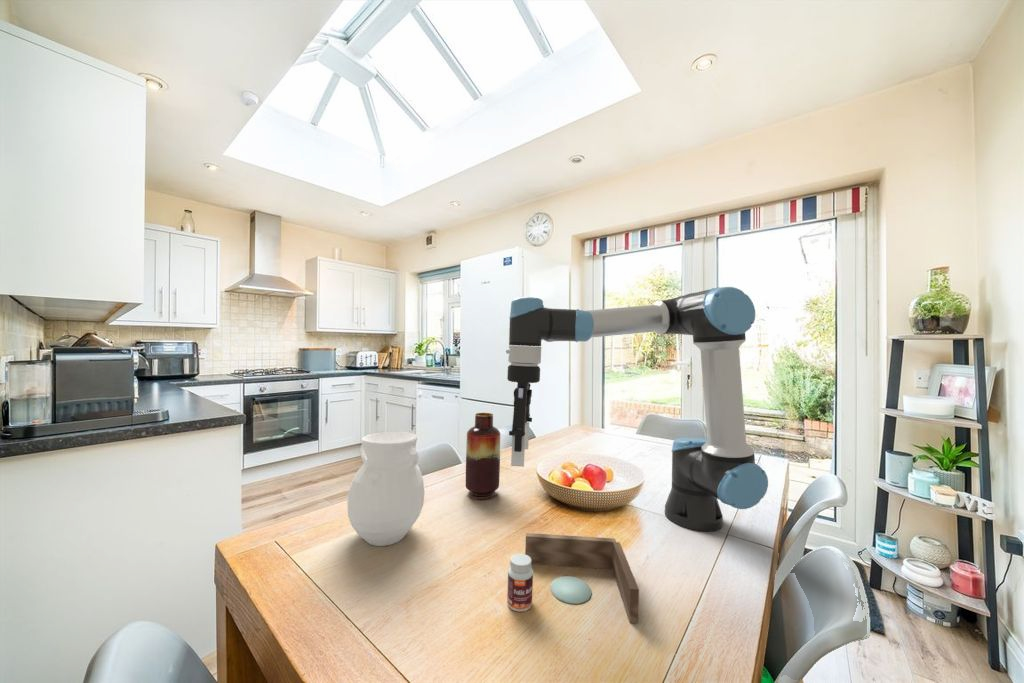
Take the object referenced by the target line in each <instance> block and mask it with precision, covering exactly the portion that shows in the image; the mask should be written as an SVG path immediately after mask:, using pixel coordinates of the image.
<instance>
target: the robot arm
mask: <svg viewBox="0 0 1024 683" xmlns="http://www.w3.org/2000/svg"><path fill="white" fill-rule="evenodd" d="M510 305H511V306H510V313H509V329H508V330H509V332H508V335H509V336H508V337H509V338H508V344H509V345H508V348H509V349H506V351H505V353H506V354H508V360H507V361H508V362H509V363H510V364H509V365H508V366H507V376H506V378H507V379H506V380H508V381H509V382H511V383H517V386H516V387H515V388H514V390H513V415H512V417H513V418H512V426H511V430H509V431H508V436H511V457H510V466H511V467H521V468H523V467H525V452H526V450H529V439H530V438H529V437H530V436H529V435H530V434H529V433H530V423H532V422H533V418H532V417H531V414H530V413H531V411H530V407H531V406H530V405H531V401H532V400H531V399H532V396H533V390H532V389H531V384H537V383H539V382H540V380H541V367H540V366H539V365H540V364H541V363H542V340H543V341H544V342H546V343H552V342H576V343H578V342H588V341H589V340H591V338H599V337H600V338H601V337H611V336H620V335H621V336H622V335H631V334H642V333H643V334H645V333H653V332H654V333H655V334H657V335H686V336H687V335H688V336H692V341H693V342H692V343H693V345H695V346H696V347H697V348H698V349H699V351H700V359H701V360H700V361H701V374H702V386H703V400H704V401H703V402H704V412H705V424H706V425H705V426H706V427H705V428H706V438H702V437H678V438H675V439H674V440H673V442H672V446H671V448H672V449H671V455H672V456H671V489H670V491H669V493H668V496H667V499H666V501H665V504H664V515H665V518H667V519H668V520H669V521H671V522H672V523H674V524H675V525H678V526H681V527H682V528H687V529H690V530H695V531H701V532H714V531H715V532H716V531H718V530H721V529H722V528H723V525H724V516H723V513H722V512H723V511H722V509H721V506H720V504H719V501H720V503H723V504H724V505H727V506H730V507H732V508H734V509H738V510H747V509H751V508H752V507H753V508H754V507H755V506H757V505H758V504H759V503H760V501H761V500H762V499H763V498H764V497H765V496H766V494H767V491H768V486H769V478H768V475H767V473H766V471H765V470H764V469H763V467H761V465H758V464H757V463H756V458H755V450H754V449H753V447H751V446H750V445H749V444H748V443H747V437H746V435H747V434H746V421H745V409H744V398H743V395H744V394H743V384H742V382H743V381H742V371H741V370H742V369H741V356H740V347H741V345H743V344H744V343H745V342H746V339H747V338H746V333H747V332H748V331H749V330H750V329H751V328H752V325H753V324H754V323H755V320H756V309H755V305H754V303H753V301H752V298H750V296H749V295H748V294H746V293H745V292H744V291H743V290H742V289H739V288H737V287H733V286H724V287H722V286H721V287H720V286H719V287H712V288H710V289H705V290H701V291H698V292H692V293H688V294H687V293H686V294H684V295H681V296H677V297H674V298H673V297H672V298H670V299H665V300H664V299H663V300H657V301H654V302H653V304H649V305H647V304H646V305H636V306H625V307H614V308H613V307H612V308H602V309H591V310H590V309H589V310H582V309H581V310H580V309H571V308H570V309H567V308H550V307H545V306H544V301H543V299H541V298H538V297H530V296H521V297H515V298H513V299H512V301H511V303H510Z"/></svg>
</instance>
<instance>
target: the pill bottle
mask: <svg viewBox="0 0 1024 683" xmlns="http://www.w3.org/2000/svg"><path fill="white" fill-rule="evenodd" d="M533 580H534V571H533V568H532V564H531V558H530V557H529V556H528V555H525V554H524V553H515V554H513V555H512V556H511V557H510V560H509V568H508V571H507V599H506V600H507V601H506V603H507V606H508V607H509V609H510V610H513V611H515V612H520V613H521V612H526V611H528V610H529V609H531V607H532V605H533V582H534V581H533Z"/></svg>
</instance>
